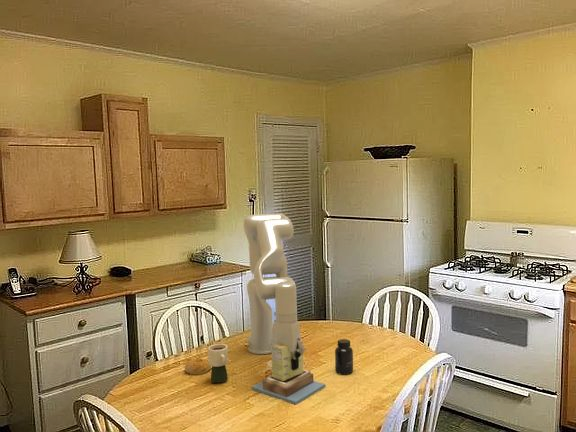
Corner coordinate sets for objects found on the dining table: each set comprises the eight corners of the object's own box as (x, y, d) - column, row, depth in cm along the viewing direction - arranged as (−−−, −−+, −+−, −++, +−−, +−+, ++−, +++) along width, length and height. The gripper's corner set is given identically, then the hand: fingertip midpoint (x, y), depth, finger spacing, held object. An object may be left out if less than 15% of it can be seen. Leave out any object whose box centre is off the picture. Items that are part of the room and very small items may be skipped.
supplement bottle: (352, 375, 187) (352, 344, 186) (334, 374, 188) (333, 343, 188) (353, 368, 194) (353, 338, 193) (336, 367, 195) (335, 337, 194)
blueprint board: (251, 389, 177) (251, 386, 177) (282, 374, 190) (282, 371, 190) (296, 404, 165) (295, 401, 165) (325, 386, 178) (325, 384, 178)
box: (292, 368, 183) (291, 337, 182) (303, 372, 179) (302, 340, 178) (271, 377, 176) (270, 344, 175) (283, 382, 172) (282, 348, 171)
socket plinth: (262, 389, 175) (262, 378, 175) (289, 375, 187) (289, 364, 186) (287, 397, 168) (286, 385, 168) (313, 382, 180) (313, 371, 180)
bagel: (217, 369, 198) (217, 357, 197) (195, 378, 189) (195, 366, 189) (201, 363, 204) (200, 352, 204) (179, 372, 196) (178, 360, 195)
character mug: (234, 383, 183) (232, 349, 182) (216, 388, 179) (214, 353, 178) (222, 374, 192) (220, 341, 191) (204, 378, 188) (203, 344, 187)
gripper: (261, 315, 178) (262, 364, 180) (299, 324, 167) (300, 376, 169) (274, 311, 184) (276, 358, 186) (312, 318, 173) (313, 369, 175)
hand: (287, 366), depth 177 cm, fingers closed on box, 6 cm apart
